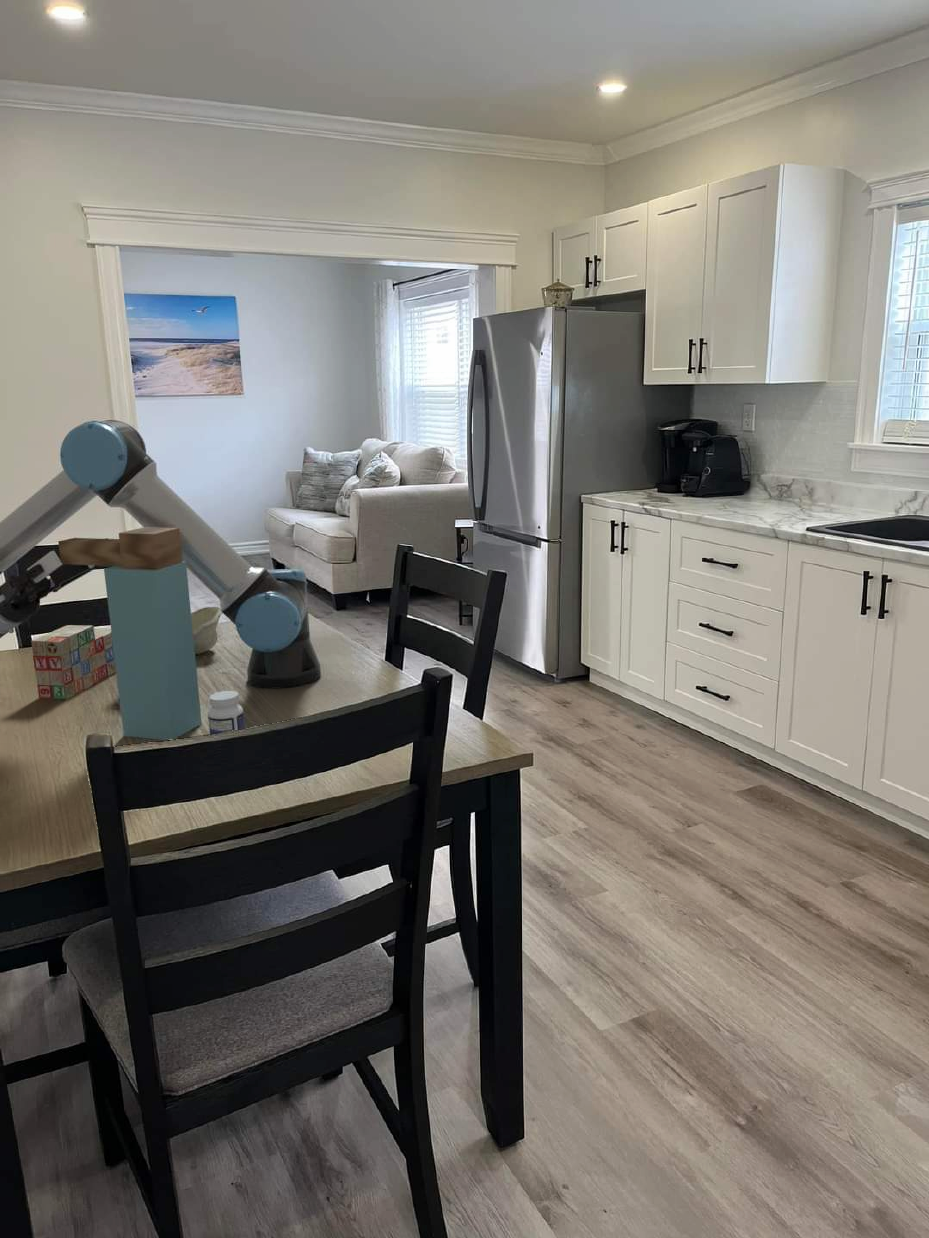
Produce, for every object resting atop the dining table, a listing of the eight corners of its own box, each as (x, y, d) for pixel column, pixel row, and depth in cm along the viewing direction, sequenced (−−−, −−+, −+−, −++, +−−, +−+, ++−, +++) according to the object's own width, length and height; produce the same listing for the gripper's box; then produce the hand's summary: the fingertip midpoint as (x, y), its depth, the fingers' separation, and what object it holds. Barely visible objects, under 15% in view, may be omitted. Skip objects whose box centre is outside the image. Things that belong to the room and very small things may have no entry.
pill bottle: (232, 742, 160) (227, 687, 157) (253, 749, 156) (249, 693, 154) (204, 752, 155) (199, 696, 153) (225, 760, 152) (220, 702, 150)
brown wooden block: (182, 562, 161) (179, 528, 160) (157, 569, 155) (154, 534, 153) (82, 558, 168) (78, 525, 166) (55, 565, 161) (50, 531, 160)
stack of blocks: (98, 668, 207) (91, 614, 204) (124, 669, 205) (117, 614, 202) (38, 699, 186) (30, 639, 183) (66, 700, 185) (58, 640, 182)
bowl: (159, 649, 220) (155, 608, 218) (219, 641, 226) (215, 601, 224) (168, 665, 207) (163, 621, 205) (231, 656, 213) (228, 613, 210)
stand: (201, 723, 169) (185, 561, 162) (172, 740, 161) (154, 570, 154) (155, 718, 172) (137, 559, 165) (123, 735, 164) (103, 568, 157)
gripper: (68, 608, 183) (140, 557, 174) (-35, 640, 160) (43, 583, 151) (48, 574, 182) (120, 522, 174) (-58, 602, 159) (19, 543, 151)
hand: (84, 550), depth 163 cm, fingers open, 13 cm apart
